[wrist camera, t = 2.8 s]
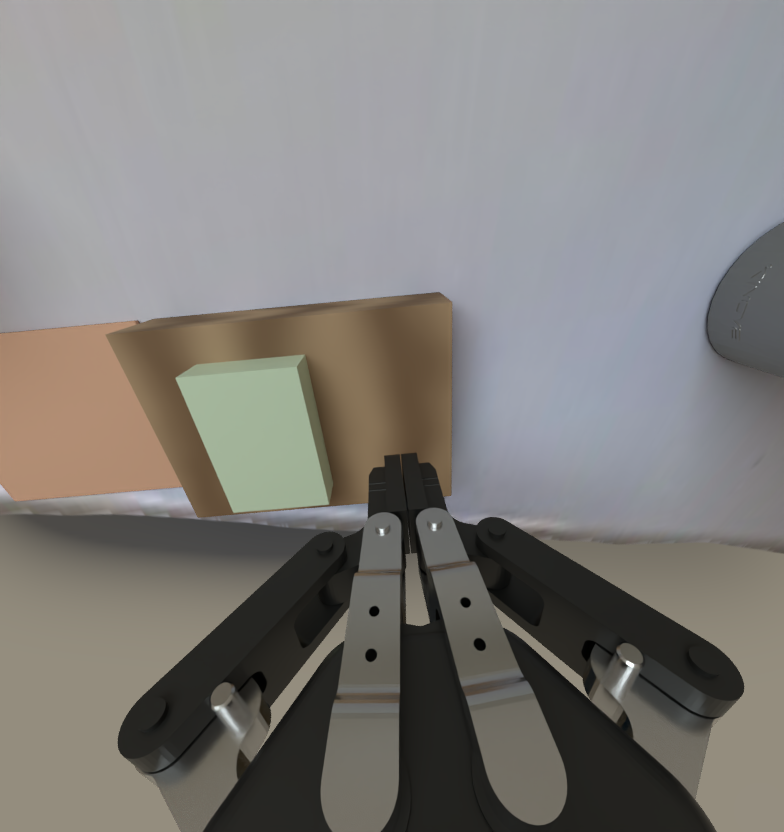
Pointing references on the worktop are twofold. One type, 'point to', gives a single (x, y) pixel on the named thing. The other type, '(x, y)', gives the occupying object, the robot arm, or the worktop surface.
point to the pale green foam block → (261, 431)
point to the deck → (330, 377)
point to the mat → (73, 418)
